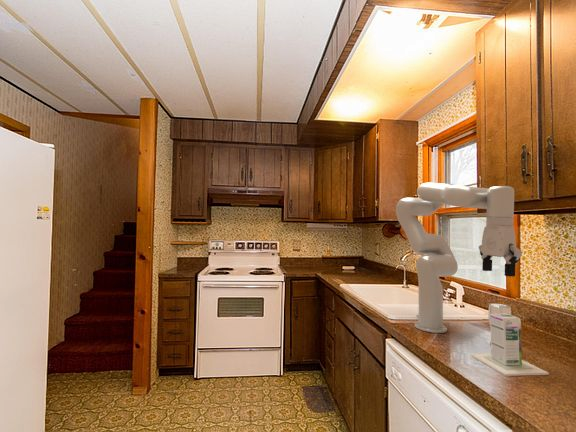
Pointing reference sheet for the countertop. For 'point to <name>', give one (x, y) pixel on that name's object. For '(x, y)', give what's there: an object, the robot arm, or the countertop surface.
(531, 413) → the countertop surface
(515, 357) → the syrup box
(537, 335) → the countertop surface
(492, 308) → the beer glass
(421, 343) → the countertop surface
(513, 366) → the tile
